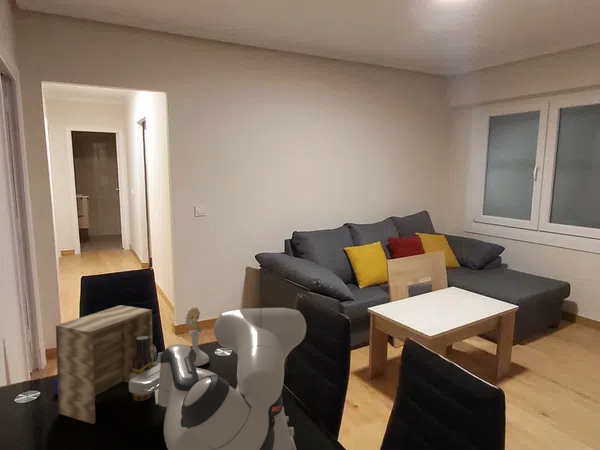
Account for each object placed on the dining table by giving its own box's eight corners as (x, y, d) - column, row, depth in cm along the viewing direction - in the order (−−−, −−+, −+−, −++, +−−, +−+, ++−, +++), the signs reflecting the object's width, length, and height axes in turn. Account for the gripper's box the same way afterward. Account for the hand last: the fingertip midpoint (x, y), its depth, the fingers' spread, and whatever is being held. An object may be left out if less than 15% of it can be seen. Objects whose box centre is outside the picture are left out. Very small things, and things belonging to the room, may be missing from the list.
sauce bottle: (147, 402, 129) (147, 341, 128) (128, 401, 129) (127, 341, 129) (156, 393, 136) (155, 335, 135) (138, 392, 136) (137, 334, 135)
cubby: (153, 387, 148) (151, 309, 146) (92, 423, 124) (89, 332, 122) (122, 379, 154) (120, 305, 151) (58, 413, 130) (55, 325, 127)
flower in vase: (179, 360, 171) (178, 303, 169) (206, 356, 176) (205, 300, 174) (184, 373, 159) (183, 311, 157) (212, 368, 164) (212, 308, 162)
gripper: (149, 403, 118) (114, 393, 123) (193, 374, 137) (161, 367, 142) (149, 382, 117) (114, 374, 123) (193, 356, 136) (161, 350, 141)
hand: (140, 370), depth 132 cm, fingers closed on sauce bottle, 6 cm apart
